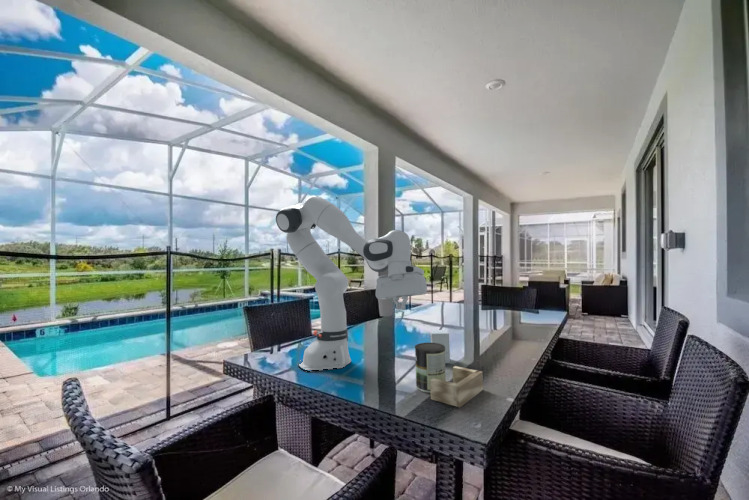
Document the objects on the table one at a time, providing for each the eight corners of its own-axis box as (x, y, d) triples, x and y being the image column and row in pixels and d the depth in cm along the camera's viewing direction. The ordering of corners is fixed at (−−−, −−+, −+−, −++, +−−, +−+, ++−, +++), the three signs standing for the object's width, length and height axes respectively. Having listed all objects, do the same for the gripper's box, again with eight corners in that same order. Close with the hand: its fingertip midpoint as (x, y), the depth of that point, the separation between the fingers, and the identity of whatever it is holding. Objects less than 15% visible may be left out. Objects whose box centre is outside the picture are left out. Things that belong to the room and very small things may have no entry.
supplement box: (448, 358, 151) (447, 329, 151) (450, 363, 143) (449, 333, 144) (431, 358, 151) (430, 329, 152) (432, 363, 144) (431, 333, 144)
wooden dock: (430, 399, 109) (430, 380, 109) (455, 383, 122) (455, 366, 122) (459, 407, 102) (459, 387, 102) (483, 389, 115) (482, 371, 115)
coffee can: (412, 391, 116) (411, 348, 116) (420, 380, 125) (419, 341, 125) (442, 395, 112) (441, 351, 112) (448, 383, 121) (447, 343, 121)
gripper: (372, 274, 132) (372, 310, 128) (420, 266, 121) (421, 305, 117) (381, 277, 137) (381, 312, 133) (427, 270, 126) (429, 307, 122)
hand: (400, 309), depth 125 cm, fingers closed
